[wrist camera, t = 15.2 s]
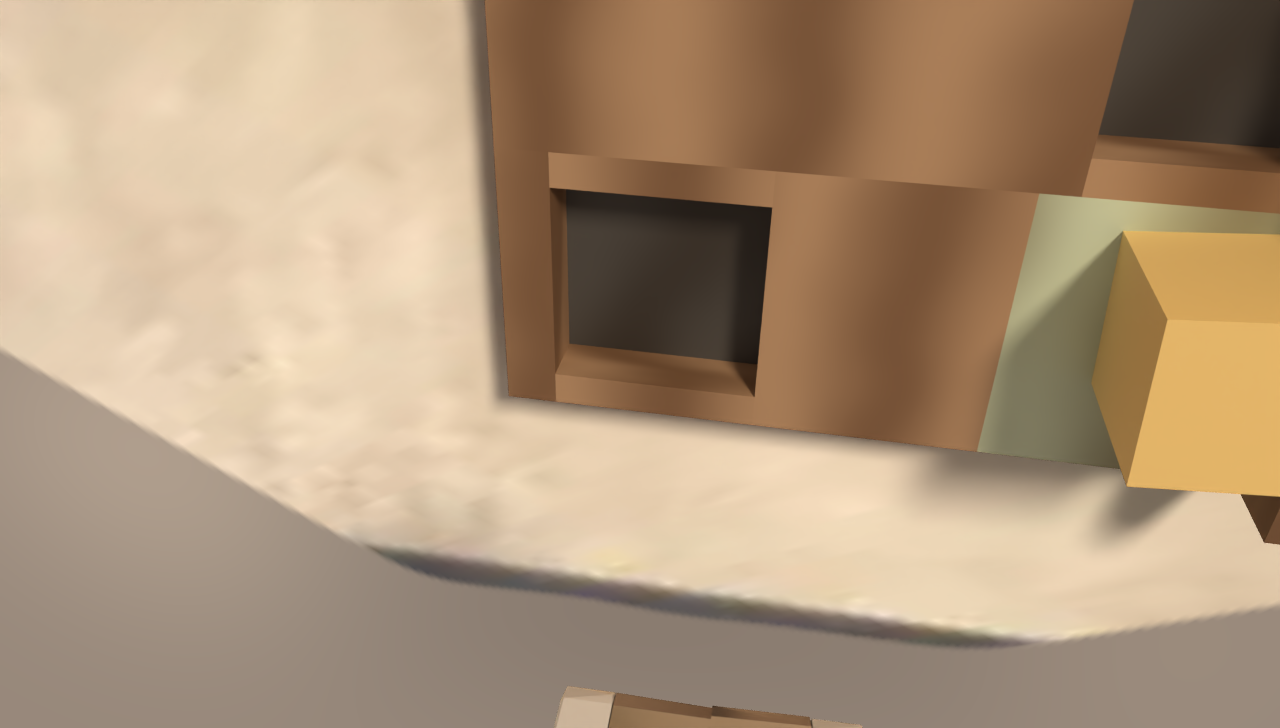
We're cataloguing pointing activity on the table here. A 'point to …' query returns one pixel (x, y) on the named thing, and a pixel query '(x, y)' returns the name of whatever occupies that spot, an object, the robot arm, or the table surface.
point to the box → (862, 202)
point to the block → (1194, 362)
